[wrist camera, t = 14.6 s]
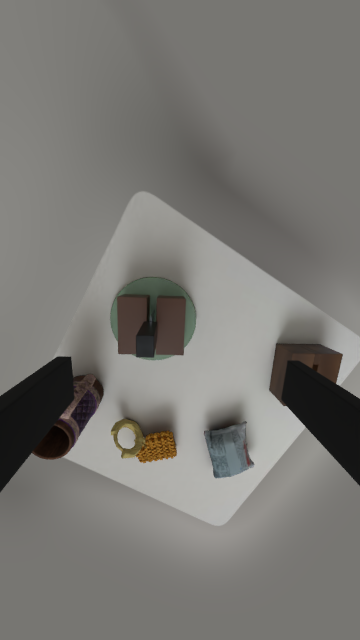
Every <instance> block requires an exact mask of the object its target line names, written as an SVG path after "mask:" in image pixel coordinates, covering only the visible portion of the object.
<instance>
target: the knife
mask: <svg viewBox="0 0 360 640" xmlns="http://www.w3.org/2000/svg"><path fill="white" fill-rule="evenodd" d="M157 332H158V322H155V310H153V311H152V313H151V315H150V322H147V321H144V322H143V324H142V326H141V328H140V329H139V331H138V333H137V335H136V357H146V358H154V355H155V349H156V343H157Z"/></svg>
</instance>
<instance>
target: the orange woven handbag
mask: <svg viewBox="0 0 360 640" xmlns="http://www.w3.org/2000/svg"><path fill="white" fill-rule="evenodd" d="M123 427H127V428H129V429H131V430H132V431H133V432H134V434H135V436H136V439H135V440H134V441H135V446H134V447H133V448H131V449H126V448H124V449H123V448H122V447H121V446H120V444H119V443H118V439H117V434H118V432H119V430H120V429H121V428H123ZM111 435H114V442H115V444H116V447H117V448H119V449H120V450H121V451H122V455H121V457H122V458H132V457H135V456H136V457H138V459H139V461H140V462H143V463H146V461H149V462H152V461H153V460H154V461H157V459H158V460H159V459H160V460H163V458H165V457H166V459H168V457H169V458H170V457H171V458H173V456H174V457H175V456H176V454H177V451H176V448H175V447H176V446H175V442H174V439H173V433H172V432H169V431H165V432H164V431H162V432H161V434H160V433H158V432H156V433H154V434H152V433H151V434H149V435H148V436H147V435H146V438H144V437H143V433H142V431H141V429H140V427H139V425H138V424H137V423H136V422H135V421H132V420H127V419H123V420H121V421H118V422H116V423H115V425H114V426H113V428H112V430H111ZM145 444H146V445H145ZM174 454H175V455H174ZM163 456H164V457H163ZM157 457H158V458H157ZM146 459H147V460H146Z"/></svg>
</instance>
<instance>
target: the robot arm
mask: <svg viewBox="0 0 360 640" xmlns="http://www.w3.org/2000/svg"><path fill="white" fill-rule="evenodd" d="M74 399H75V397H74V385H73V373H72V361H71V357H56V358H55V359H53V360H52V361H50V362H49V363H48V364H46V365H45V366H43V367H42V368H40V369H39V370H37V371H36V372H35V373H33V374H32V375H30V376H29V377H27V378H26V379H25V380H23V381H21V382H20V383H19V384H17V385H16V386H14V387H13V388H11V389H10V390H8V391H7V392H6V393H4V394H3V395H1V396H0V492H1V491H2V489H3V488H4V487H5V486H6V484H7V483H8V482H9V481H10V479H11V478H12V477H13V475H14V474H15V473H16V472H17V470H18V469H19V468H20V467H21V465H22V464H23V463H24V462H25V460H26V459H27V458H28V457H29V455H30V454H31V453H32V452H33V450H34V449H35V448H36V447H37V445H38V444H39V443H40V442H41V440H42V439H43V438H44V437H45V435H46V434H47V433H48V432H49V430H50V429H51V428H52V427H53V425H54V424H55V423H56V422H57V420H58V419H59V418H60V417H61V415H62V414H63V413H64V411H65V410H66V409H67V408H68V406H69V405H70V404H71V403H72V401H73V400H74ZM281 400H282V401H283V402H284V404H285V405H286V406H287V407H288V408H289V409H290V410H291V411H292V412H293V413H294V414H295V416H296V417H297V418H298V419H299V420H300V421H301V422H302V423H303V424H304V425H305V426H306V428H307V429H308V430H309V431H310V432H311V433H312V434H313V435H314V436H315V437H316V438H317V440H318V441H319V442H320V443H321V444H322V445H323V446H324V447H325V448H326V449H327V450H328V451H329V453H330V454H331V455H332V456H333V457H334V458H335V459H336V460H337V461H338V462H339V464H340V465H341V466H342V467H343V468H344V469H345V470H346V471H347V472H348V473H349V474H350V475H351V477H352V478H353V479H354V480H355V481H356V482H357V483H358V484H359V485H360V399H359V398H358V397H356V396H354V395H353V394H351V393H350V392H348V391H347V390H345V389H343V388H342V387H340V386H339V385H337V384H336V383H334V382H332V381H331V380H329V379H328V378H326V377H324V376H323V375H321V374H320V373H318V372H317V371H315V370H313V369H312V368H310V367H309V366H307V365H306V364H304V363H302V362H301V361H298V360H287V366H286V372H285V378H284V384H283V390H282V396H281Z"/></svg>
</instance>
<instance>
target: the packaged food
mask: <svg viewBox="0 0 360 640" xmlns="http://www.w3.org/2000/svg"><path fill="white" fill-rule="evenodd" d="M246 423H247V422H246V421H244V422H243V423H241V424H236V425H233V426H230V427H227V428H223V429H220V430H217V431H215V430H213V431H210V430H209V431H208V430H207V431H204V435H205V439H206V443H207V447H208V451H209V454H210V457H211V461H212V465H213V474H214V477H215V478H223V477H231V476H234V475H236V474H239V473H241V472H243V471H245V470H247V469H249V468H252V467H254V463H253V462H252V460H251V459H250V457H249V454H248V450H247V444H246V441H245V439H246V436H245V429H246V428H245V426H246Z"/></svg>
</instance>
